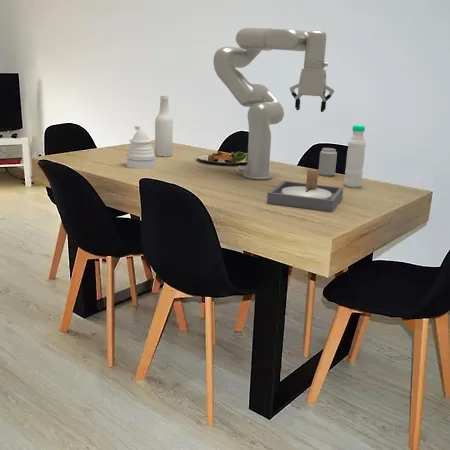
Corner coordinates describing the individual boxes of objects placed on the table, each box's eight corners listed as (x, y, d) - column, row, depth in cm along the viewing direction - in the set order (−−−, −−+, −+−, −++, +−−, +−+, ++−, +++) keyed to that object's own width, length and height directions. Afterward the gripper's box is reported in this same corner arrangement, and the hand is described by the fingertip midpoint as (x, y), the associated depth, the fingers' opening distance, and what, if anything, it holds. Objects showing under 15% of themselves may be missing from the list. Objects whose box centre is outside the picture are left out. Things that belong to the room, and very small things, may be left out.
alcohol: (171, 157, 276) (172, 96, 268) (153, 156, 276) (154, 95, 268) (173, 154, 285) (174, 95, 276) (156, 153, 285) (156, 94, 276)
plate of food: (264, 163, 273) (265, 150, 272) (226, 168, 254) (226, 155, 252) (223, 156, 292) (223, 145, 290) (185, 161, 272) (185, 149, 270)
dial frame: (266, 203, 195) (268, 186, 193) (283, 190, 216) (284, 175, 214) (331, 211, 187) (333, 194, 185) (342, 197, 208) (344, 181, 207)
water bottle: (351, 188, 224) (358, 126, 217) (340, 184, 230) (346, 124, 223) (364, 187, 228) (371, 126, 221) (353, 183, 234) (359, 124, 226)
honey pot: (121, 166, 248) (120, 126, 242) (136, 162, 259) (136, 123, 254) (146, 169, 243) (146, 128, 238) (160, 165, 255) (160, 126, 249)
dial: (324, 204, 189) (326, 180, 187) (274, 197, 196) (276, 174, 194) (336, 194, 205) (338, 171, 203) (289, 188, 212) (291, 166, 210)
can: (334, 177, 246) (337, 150, 242) (317, 175, 247) (320, 149, 244) (334, 174, 253) (337, 148, 249) (318, 172, 254) (320, 146, 251)
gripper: (338, 66, 211) (333, 111, 216) (294, 64, 217) (290, 108, 221) (334, 66, 204) (330, 113, 209) (289, 64, 210) (286, 109, 215)
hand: (309, 110), depth 215 cm, fingers open, 9 cm apart
